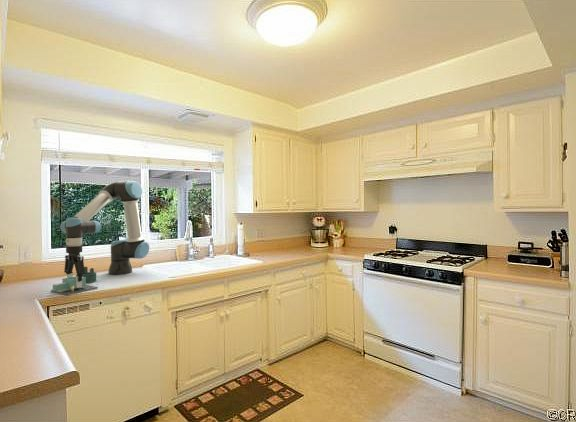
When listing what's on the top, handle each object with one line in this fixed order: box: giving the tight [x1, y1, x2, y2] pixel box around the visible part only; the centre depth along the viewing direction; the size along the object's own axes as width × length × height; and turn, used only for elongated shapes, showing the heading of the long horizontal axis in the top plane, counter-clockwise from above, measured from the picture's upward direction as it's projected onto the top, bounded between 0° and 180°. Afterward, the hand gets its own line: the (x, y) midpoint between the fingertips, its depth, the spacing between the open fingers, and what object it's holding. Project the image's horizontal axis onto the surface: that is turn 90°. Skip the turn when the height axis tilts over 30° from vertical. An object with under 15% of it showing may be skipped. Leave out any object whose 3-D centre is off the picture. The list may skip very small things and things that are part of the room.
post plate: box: [50, 284, 98, 296], centre depth 179 cm, size 16×16×5 cm
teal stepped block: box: [52, 275, 87, 291], centre depth 176 cm, size 14×8×5 cm, turn 152°
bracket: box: [82, 266, 97, 284], centre depth 200 cm, size 9×9×9 cm
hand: (74, 286), depth 179 cm, fingers closed on teal stepped block, 8 cm apart
